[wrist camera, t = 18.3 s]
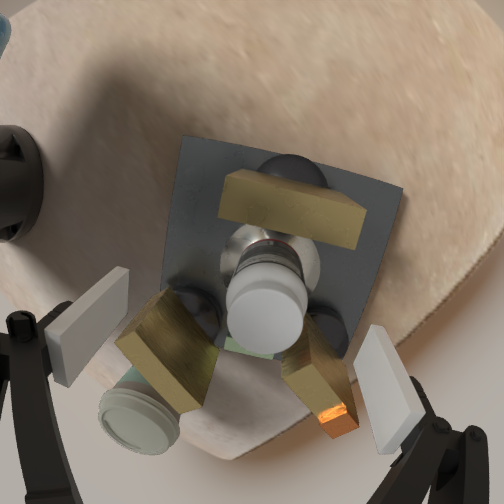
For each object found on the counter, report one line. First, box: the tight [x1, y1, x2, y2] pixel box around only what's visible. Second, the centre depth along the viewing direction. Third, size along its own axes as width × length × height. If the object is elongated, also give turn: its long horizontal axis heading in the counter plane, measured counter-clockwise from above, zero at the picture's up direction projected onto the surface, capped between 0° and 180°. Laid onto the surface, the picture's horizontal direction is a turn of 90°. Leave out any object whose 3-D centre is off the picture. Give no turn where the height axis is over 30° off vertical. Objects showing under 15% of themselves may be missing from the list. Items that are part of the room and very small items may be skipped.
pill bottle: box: [226, 238, 308, 354], centre depth 24 cm, size 6×6×10 cm
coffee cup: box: [98, 366, 181, 455], centre depth 30 cm, size 9×8×12 cm
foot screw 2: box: [217, 154, 367, 250], centre depth 22 cm, size 8×6×10 cm
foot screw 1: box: [114, 286, 222, 414], centre depth 26 cm, size 8×6×10 cm
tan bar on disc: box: [282, 306, 359, 439], centre depth 26 cm, size 8×6×11 cm
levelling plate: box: [160, 135, 403, 360], centre depth 29 cm, size 20×20×3 cm
